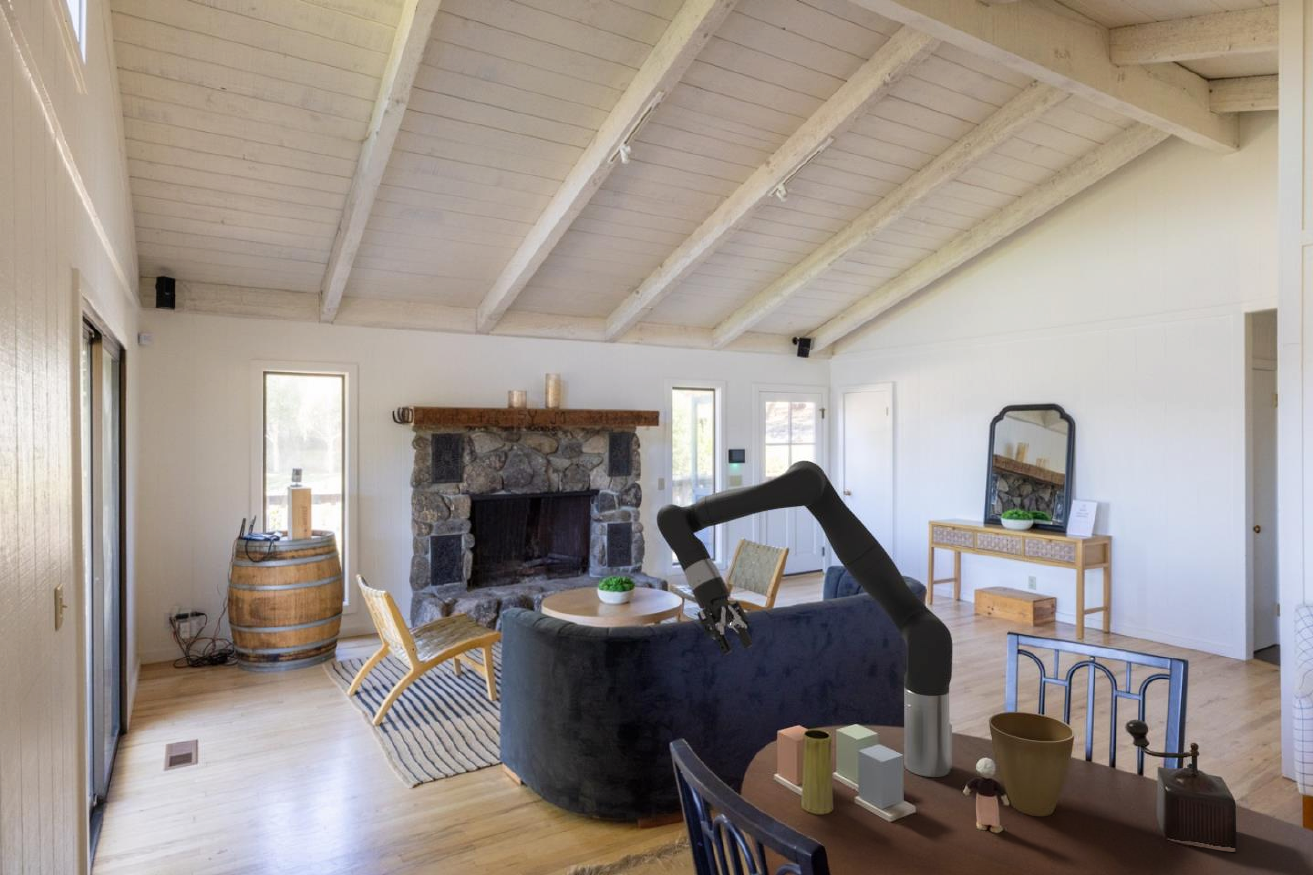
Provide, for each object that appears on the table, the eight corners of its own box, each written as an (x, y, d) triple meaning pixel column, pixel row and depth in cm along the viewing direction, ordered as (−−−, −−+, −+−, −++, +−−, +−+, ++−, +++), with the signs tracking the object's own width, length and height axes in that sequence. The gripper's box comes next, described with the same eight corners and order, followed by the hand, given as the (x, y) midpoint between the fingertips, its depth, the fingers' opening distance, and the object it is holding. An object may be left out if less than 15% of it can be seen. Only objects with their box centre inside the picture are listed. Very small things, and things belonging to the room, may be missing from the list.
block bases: (836, 759, 168) (836, 755, 168) (929, 806, 147) (929, 801, 147) (773, 779, 158) (773, 774, 158) (863, 832, 137) (863, 826, 137)
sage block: (856, 765, 162) (856, 723, 162) (878, 776, 157) (878, 733, 157) (836, 772, 159) (836, 729, 159) (857, 783, 154) (857, 739, 154)
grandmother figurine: (1007, 825, 139) (1007, 757, 139) (1010, 835, 136) (1009, 765, 136) (962, 818, 142) (962, 751, 142) (964, 828, 138) (963, 759, 138)
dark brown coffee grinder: (1221, 824, 140) (1221, 727, 140) (1238, 855, 130) (1238, 750, 130) (1123, 807, 146) (1123, 714, 146) (1132, 834, 136) (1132, 735, 136)
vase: (833, 816, 143) (833, 741, 143) (800, 813, 144) (800, 738, 144) (832, 801, 149) (832, 729, 149) (801, 798, 150) (801, 726, 150)
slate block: (879, 788, 151) (879, 744, 151) (903, 801, 146) (903, 754, 146) (858, 796, 148) (858, 750, 148) (882, 809, 143) (881, 761, 143)
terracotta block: (798, 767, 161) (798, 725, 161) (818, 777, 156) (818, 734, 156) (777, 773, 158) (777, 730, 158) (796, 784, 153) (796, 740, 153)
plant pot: (997, 782, 157) (997, 705, 157) (1079, 802, 148) (1079, 721, 148) (981, 812, 144) (981, 728, 144) (1069, 835, 136) (1069, 747, 136)
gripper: (699, 578, 164) (733, 647, 157) (735, 572, 175) (768, 637, 168) (676, 594, 167) (708, 662, 161) (712, 588, 178) (743, 651, 172)
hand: (739, 649), depth 165 cm, fingers open, 8 cm apart
